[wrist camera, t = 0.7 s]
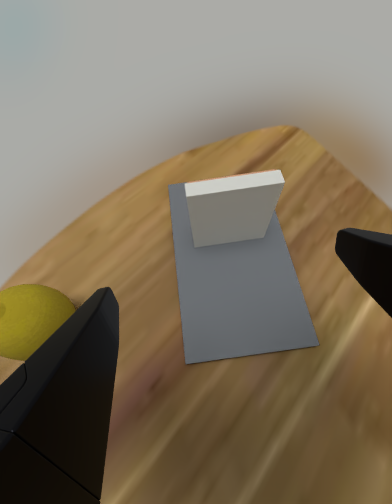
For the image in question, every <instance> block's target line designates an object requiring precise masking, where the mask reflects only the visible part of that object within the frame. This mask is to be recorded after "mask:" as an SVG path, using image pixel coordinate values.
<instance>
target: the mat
mask: <svg viewBox="0 0 392 504" xmlns="http://www.w3.org/2000/svg"><path fill="white" fill-rule="evenodd" d="M186 183H187V182H185V183H179V184H172V185H168V188H169V198H170V208H171V219H172V229H173V239H174V250H175V260H176V270H177V280H178V291H179V301H180V311H181V321H182V332H183V342H184V352H185V363H186V364H191V363H199V362H206V361H213V360H220V359H227V358H234V357H241V356H248V355H255V354H262V353H269V352H277V351H284V350H291V349H298V348H305V347H312V346H318V345H319V342H318V339H317V336H316V333H315V330H314V327H313V324H312V321H311V318H310V315H309V312H308V309H307V305H306V302H305V299H304V296H303V293H302V290H301V287H300V284H299V281H298V278H297V275H296V272H295V269H294V266H293V263H292V260H291V257H290V254H289V251H288V248H287V245H286V242H285V239H284V236H283V233H282V230H281V227H280V224H279V221H278V218H277V215H276V212H275V209H274V212H273V215H272V217H271V220H270V222H269V225H268V228H267V230H266V233H265V236H264V238H258V239H251V240H244V241H237V242H230V243H223V244H217V245H210V246H203V247H196V248H195V247H194V241H193V235H192V229H191V223H190V216H189V210H188V204H187V198H186V191H185V184H186Z"/></svg>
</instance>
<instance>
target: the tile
mask: <svg viewBox="0 0 392 504" xmlns="http://www.w3.org/2000/svg"><path fill="white" fill-rule="evenodd" d="M284 183H285V181H284V179H283V176H282V173H281V171H280V170H276V169H273V170H266V171H260V172H253V173H246V174H239V175H232V176H225V177H218V178H212V179H205V180H198V181H191V182H187V183H186V184H185V191H186V198H187V204H188V210H189V216H190V223H191V229H192V235H193V241H194V247H195V248H196V247H203V246H210V245H217V244H223V243H230V242H237V241H244V240H251V239H258V238H264V236H265V233H266V230H267V228H268V225H269V222H270V220H271V217H272V215H273V212H274V209H275V207H276V204H277V202H278V199H279V196H280V194H281V191H282V189H283V186H284Z"/></svg>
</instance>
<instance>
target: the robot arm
mask: <svg viewBox="0 0 392 504" xmlns="http://www.w3.org/2000/svg"><path fill="white" fill-rule="evenodd" d="M335 251H336V254H337V255H338V257H339V258H340V259H341V261H342V262H343V263H344V265H345V266H346V267H347V268H348V270H349V271H350V272H351V274H352V275H353V276H354V278H355V279H356V280H357V281H358V283H359V284H360V285H361V286H362V287H363V288H364V289H365V290H366V291H367V292H368V293H369V295H370V296H371V297H372V298H373V299H374V300H375V301H376V302H377V303H378V304H379V305H380V306H381V307H382V308H383V309H384V310H385V311H386V312H387V314H388V315H389V316H390V317H391V318H392V235H391V234H385V233H379V232H373V231H367V230H361V229H355V228H346V229H342V230H339V231H338V233H337V238H336V245H335ZM118 349H119V305H118V302H117V300H116V298H115V296H114V294H113V292H112V290H111V288H110V287H105V288H100V289H98V290H97V291H96V292H95V293H94V294H93V295H92V296H91V297H90V298H89V299H88V300H87V301H86V302H85V303H84V304H83V305H81V306H80V307H79V308H78V309H77V310H76V311H75V312H74V313H73V314H72V315H71V316H70V317H69V318H68V319H67V320H66V321H65V322H64V323H63V324H62V325H61V326H60V327H59V328H58V329H57V330H56V331H55V332H54V333H53V334H52V335H51V336H50V337H49V338H48V339H47V340H46V341H45V342H44V343H43V344H42V345H41V346H40V347H39V348H38V349H37V350H36V351H35V352H34V353H33V354H32V355H31V356H30V357H29V358H28V359H27V360H26V361H25V364H24V363H23V364H22V365H21V366H20V367H19V368H18V369H17V370H16V371H15V372H13V373H12V374H11V375H10V376H9V377H8V378H7V379H6V380H5V381H4V382H3V383H2V384H1V385H0V504H100V501H99V500H100V499H101V491H102V483H103V474H104V466H105V458H106V449H107V441H108V433H109V424H110V416H111V408H112V399H113V391H114V383H115V374H116V366H117V358H118Z"/></svg>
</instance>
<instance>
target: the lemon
mask: <svg viewBox="0 0 392 504" xmlns="http://www.w3.org/2000/svg"><path fill="white" fill-rule="evenodd" d="M75 311H76V310H75V307H74V305H73V304H72V302H71V301H70V299H69V298H68V297H67V296H65V295H64V294H62V293H61V292H60V291H58V290H56V289H53V288H50V287H47V286H43V285H36V284H23V285H17V286H13V287H10V288H7V289H5V290H3V291H1V292H0V356H2V357H5V358H10V359H15V360H21V361H26V360H27V359H28V358H29V357H30V356H31V355H32V354H33V353H34V352H35V351H36V350H37V349H38V348H39V347H40V346H41V345H42V344H43V343H44V342H45V341H46V340H47V339H48V338H49V337H50V336H51V335H52V334H53V333H54V332H55V331H56V330H57V329H58V328H59V327H60V326H61V325H62V324H63V323H64V322H65V321H66V320H67V319H68V318H69V317H70V316H71V315H72V314H73V313H74V312H75Z"/></svg>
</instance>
